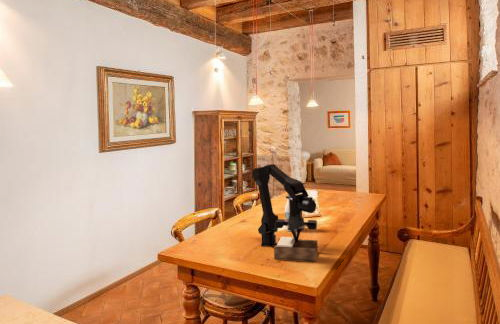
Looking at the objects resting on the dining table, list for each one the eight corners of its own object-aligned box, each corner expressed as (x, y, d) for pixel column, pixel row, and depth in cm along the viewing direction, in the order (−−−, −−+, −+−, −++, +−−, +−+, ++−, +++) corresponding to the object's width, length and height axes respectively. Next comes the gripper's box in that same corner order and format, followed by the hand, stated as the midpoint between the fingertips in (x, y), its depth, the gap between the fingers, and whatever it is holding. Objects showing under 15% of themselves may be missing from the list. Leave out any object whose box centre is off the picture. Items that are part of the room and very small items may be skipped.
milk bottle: (297, 227, 215) (296, 193, 213) (299, 231, 208) (298, 196, 205) (284, 227, 215) (283, 194, 213) (286, 232, 208) (284, 196, 205)
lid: (276, 246, 168) (276, 242, 168) (281, 238, 179) (281, 234, 179) (292, 247, 166) (292, 243, 166) (295, 238, 177) (295, 234, 177)
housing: (274, 259, 169) (273, 247, 168) (279, 249, 180) (278, 238, 180) (315, 261, 164) (315, 249, 163) (317, 252, 175) (317, 240, 175)
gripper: (272, 213, 164) (273, 247, 166) (314, 214, 159) (315, 249, 161) (276, 206, 175) (277, 239, 177) (316, 207, 170) (317, 240, 172)
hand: (296, 242), depth 171 cm, fingers closed
